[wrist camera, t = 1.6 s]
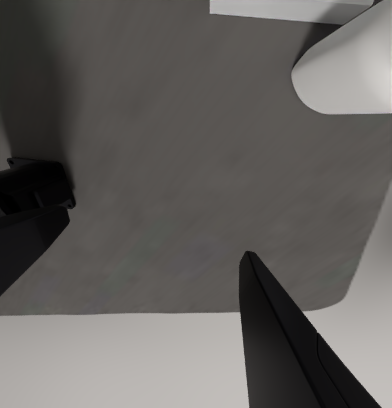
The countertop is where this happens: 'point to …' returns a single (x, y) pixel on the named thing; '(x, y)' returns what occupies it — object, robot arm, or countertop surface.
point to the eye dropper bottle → (350, 67)
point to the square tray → (293, 9)
